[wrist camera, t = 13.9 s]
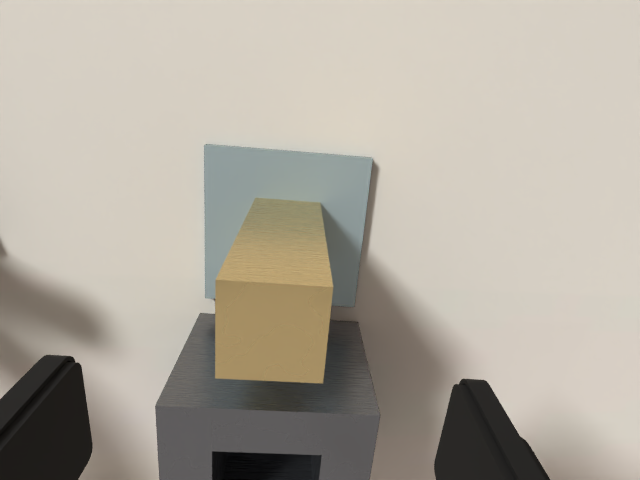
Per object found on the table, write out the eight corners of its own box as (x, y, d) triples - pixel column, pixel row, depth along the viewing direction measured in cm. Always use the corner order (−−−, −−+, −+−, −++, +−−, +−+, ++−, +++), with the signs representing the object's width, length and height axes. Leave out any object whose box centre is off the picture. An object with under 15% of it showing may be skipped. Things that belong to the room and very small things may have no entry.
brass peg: (320, 202, 25) (333, 286, 14) (314, 262, 27) (322, 383, 15) (255, 197, 25) (215, 279, 14) (253, 258, 26) (215, 378, 15)
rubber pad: (371, 157, 25) (372, 158, 25) (353, 302, 28) (354, 306, 28) (206, 144, 25) (204, 145, 24) (207, 294, 28) (205, 298, 27)
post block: (357, 322, 29) (380, 415, 20) (342, 443, 33) (355, 566, 24) (199, 313, 28) (155, 405, 20) (201, 438, 32) (164, 562, 23)
